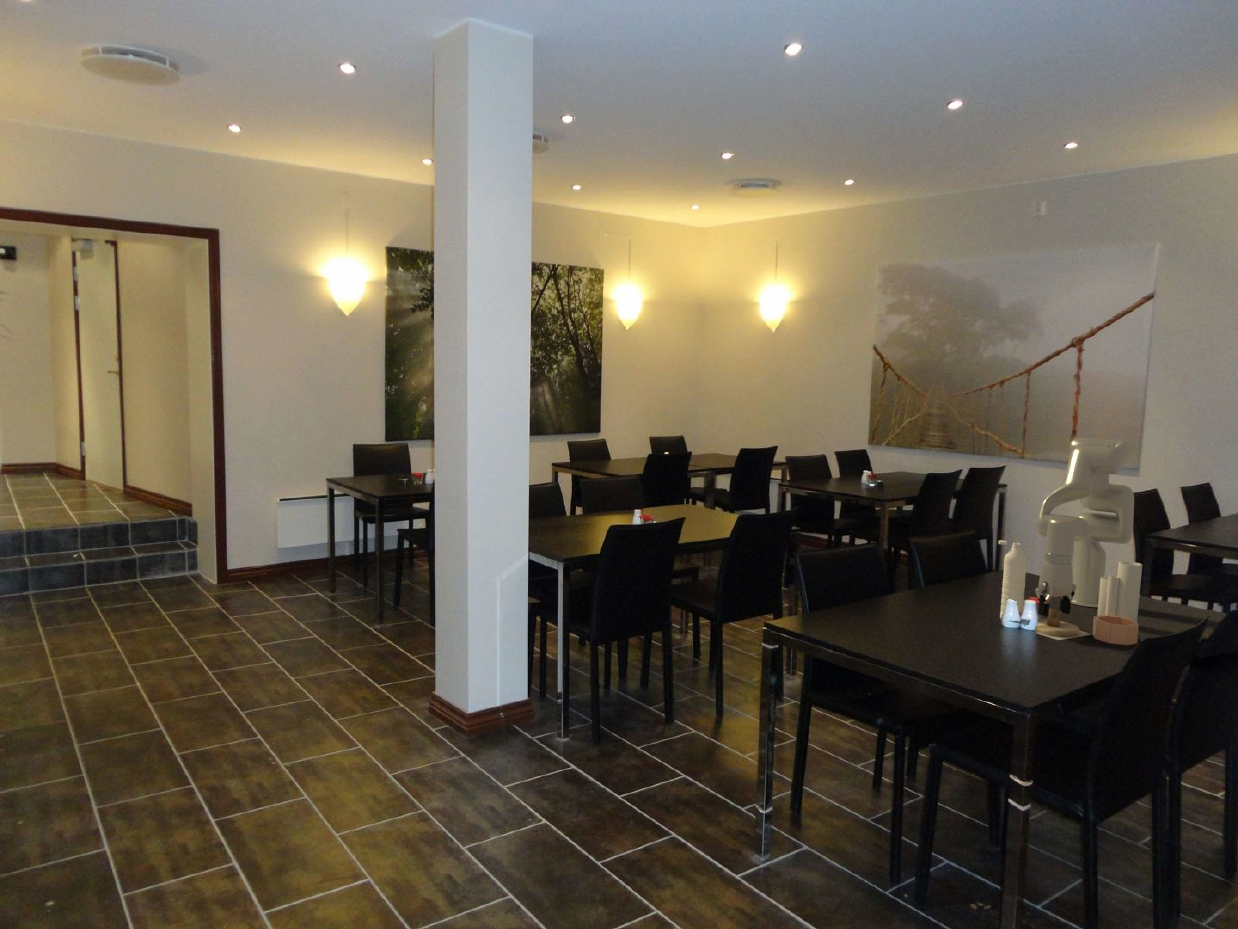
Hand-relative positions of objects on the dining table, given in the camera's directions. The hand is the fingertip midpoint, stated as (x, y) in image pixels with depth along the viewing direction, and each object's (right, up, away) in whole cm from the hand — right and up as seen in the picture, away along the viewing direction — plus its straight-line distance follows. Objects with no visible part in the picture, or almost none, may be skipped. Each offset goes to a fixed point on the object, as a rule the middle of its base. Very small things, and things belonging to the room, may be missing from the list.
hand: (1054, 614), depth 266 cm
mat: (0, -5, +1) cm, 6 cm away
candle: (+25, -5, +11) cm, 28 cm away
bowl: (+15, -7, -6) cm, 17 cm away
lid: (0, -5, +1) cm, 5 cm away
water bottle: (-8, -4, +13) cm, 16 cm away
